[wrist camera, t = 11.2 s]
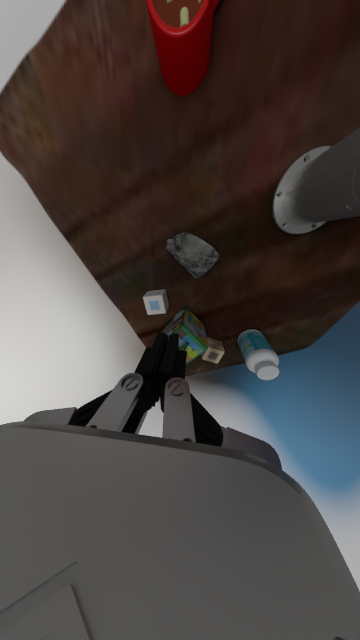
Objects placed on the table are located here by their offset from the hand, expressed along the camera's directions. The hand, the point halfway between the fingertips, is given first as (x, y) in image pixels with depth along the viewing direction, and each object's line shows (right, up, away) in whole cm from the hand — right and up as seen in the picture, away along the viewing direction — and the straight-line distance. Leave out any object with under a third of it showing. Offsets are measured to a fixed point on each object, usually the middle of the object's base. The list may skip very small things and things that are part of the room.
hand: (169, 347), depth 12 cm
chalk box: (+3, +1, +33) cm, 33 cm away
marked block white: (-5, +8, +29) cm, 31 cm away
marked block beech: (+11, -6, +35) cm, 38 cm away
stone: (+4, +18, +23) cm, 30 cm away
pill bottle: (+22, -3, +33) cm, 40 cm away
